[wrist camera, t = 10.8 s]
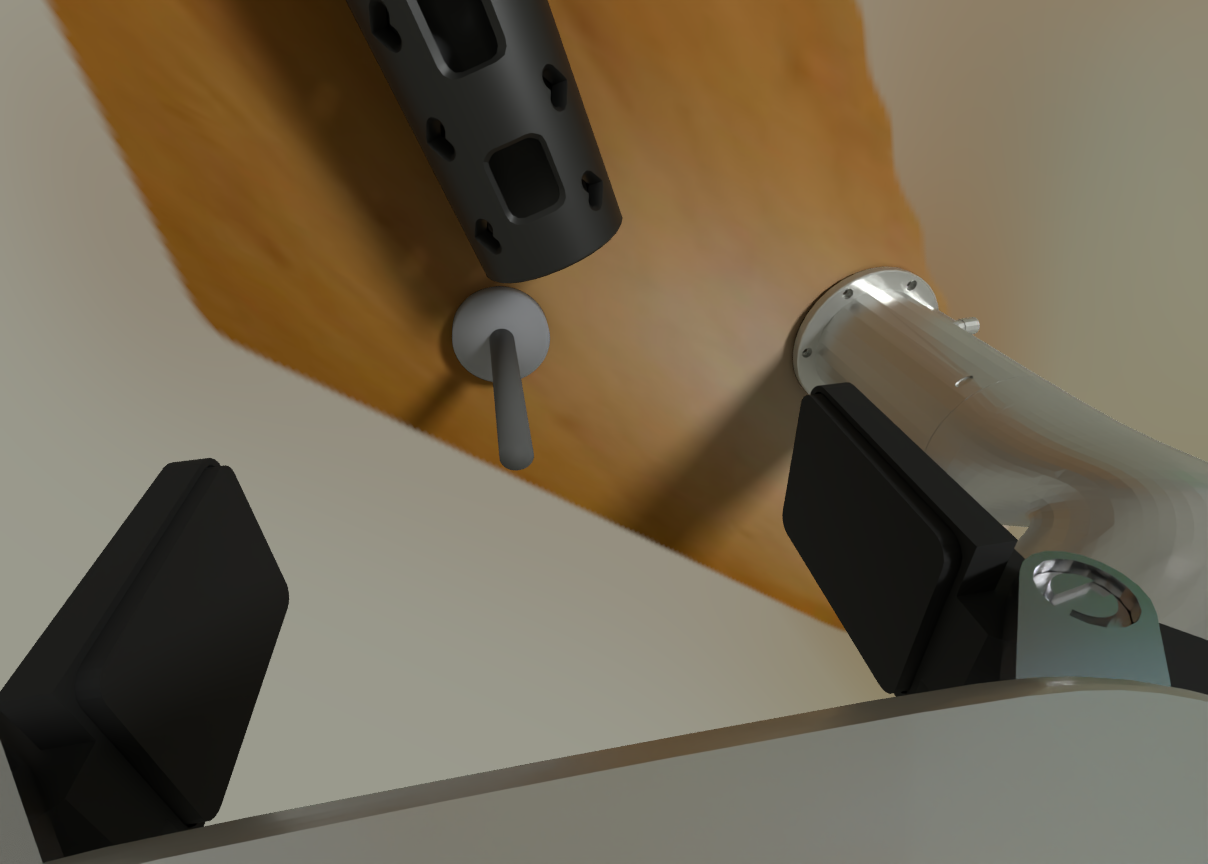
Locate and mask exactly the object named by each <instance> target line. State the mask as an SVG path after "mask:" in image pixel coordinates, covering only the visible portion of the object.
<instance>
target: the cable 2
mask: <svg viewBox="0 0 1208 864" xmlns="http://www.w3.org/2000/svg"><path fill="white" fill-rule="evenodd" d="M452 342H453V348H454V351H455V354H456V356H457V358H458V360H459V361H460V363H461V364H462V365H463V366H464V367H465V368H466V369H467V370H468V371H469V372H470V373H472V374H473V375H475V376H477V377H479V378H481V379H484V380H487V381H491V382H493V388H494V399H495V411H496V422H497V433H498V445H499V456H500V462H501V463H502V465H503V466H504V467H506V468H508V469H510V470H521V469H524V468H526V467H528V466H529V465H530V464H531V463H532V461H533V458H534V453H533V447H532V441H531V435H530V429H529V423H528V418H527V412H526V406H525V400H524V394H523V388H522V382H521V378H523V377H526V376H527V375H529V374H531V373H532V372H533V371H534V370H536V369H537V368H538V367H539V366H540V364H541V363H542V362H543V360H544V358H545V357H546V354H547V352H548V348H549V343H550V333H549V328H548V324H547V321H546V318H545V315H544V313H543V311H542V309H541V307H540V306H539V305H538V303H537V302H536V301H535V300H534V299H533V298H532V297H530V296H529V295H527V294H526V293H524V292H522V291H520V290H518V289H514V288H511V287H504V286H496V287H489V288H485V289H482V290H479V291H477V292H475V293H474V294H472V295H470V296H469V297H468V298H467V299H466V300H465V301H464V302H463V303H462V304H461V305H460V307H459V308H458V310H457V312H456V314H455V317H454V320H453V328H452Z"/></svg>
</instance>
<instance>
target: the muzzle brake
mask: <svg viewBox="0 0 1208 864" xmlns="http://www.w3.org/2000/svg"><path fill="white" fill-rule="evenodd" d="M346 1H347V3H348V5H349V7H350V9H351V11H352V13H353V15H354V17H355V19H356V21H357V23H358V25H359V27H360V29H361V31H362V33H363V35H364V37H365V39H366V40H367V42H368V44H369V46H370V48H371V50H372V52H373V54H374V56H375V58H376V60H377V62H378V64H379V66H380V68H381V70H382V72H383V74H384V76H385V78H386V80H387V82H388V83H389V85H390V87H391V89H392V91H393V93H394V95H395V97H396V99H397V101H398V103H399V105H400V107H401V109H402V111H403V113H404V115H405V117H406V119H407V121H408V123H409V124H410V126H411V128H412V130H413V132H414V134H415V136H416V138H417V140H418V142H419V144H420V146H421V148H422V150H423V152H424V154H425V156H426V158H427V160H428V162H429V164H430V165H431V167H432V169H433V171H434V173H435V175H436V177H437V179H438V181H439V183H440V185H441V187H442V189H443V191H444V193H445V195H446V197H447V199H448V201H449V203H450V205H451V206H452V208H453V210H454V212H455V214H456V216H457V218H458V220H459V222H460V224H461V226H462V228H463V230H464V232H465V234H466V236H467V238H468V240H469V242H470V244H471V246H472V247H473V249H474V251H475V253H476V255H477V257H478V259H479V261H480V263H481V265H482V267H483V269H484V271H485V273H486V275H487V277H488V278H490V279H491V280H493V281H496V282H500V283H518V282H524V281H529V280H533V279H537V278H540V277H543V276H547V275H550V274H552V273H555V272H557V271H560V270H562V269H564V268H567V267H569V266H571V265H573V264H575V263H577V262H579V261H581V260H582V259H584V258H586V257H587V256H589V255H591V254H592V253H594V252H595V251H597V250H598V249H600V248H601V247H602V246H603V245H605V244H606V243H607V242H608V241H609V240H610V239H611V238H612V237H613V236H614V235H615V234H616V232H617V231H618V229H619V227H620V225H621V223H622V215H621V212H620V209H619V206H618V204H617V201H616V198H615V195H614V192H613V189H612V186H611V183H610V180H609V177H608V175H607V172H606V169H605V166H604V163H603V160H602V157H601V154H600V151H599V148H598V145H597V143H596V140H595V137H594V134H593V131H592V128H591V125H590V122H589V119H588V116H587V114H586V111H585V108H584V105H583V102H582V99H581V96H580V93H579V90H578V87H577V84H576V82H575V79H574V76H573V73H572V70H571V67H570V64H569V61H568V58H567V55H566V52H565V50H564V47H563V44H562V41H561V38H560V35H559V32H558V29H557V26H556V23H555V21H554V18H553V15H552V12H551V9H550V6H549V3H548V0H346Z"/></svg>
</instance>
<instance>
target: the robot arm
mask: <svg viewBox="0 0 1208 864" xmlns="http://www.w3.org/2000/svg"><path fill="white" fill-rule="evenodd" d="M979 326H980V325H979V321H978V320H977V319H976V318H974V317H971V318H964V319H959V320H956V321H955V320H954V319H952V318H950V317H949V316H947V315H945V314H944V313H942V312H940V311H939V310H938V304H937V300H936V297H935V294H934V292H933V291H932V289H931V288H930V286H929V285H928V284H927V283H926V282H925V281H924V280H923V279H921V278H920V277H918V276H917V275H915V274H913V273H911V272H910V271H907V270H904V269H901V268H897V267H877V268H870V269H867V270H864V271H861V272H858V273H855V274H853V275H851V276H849V277H847V278H846V279H844V280H842V281H840V282H839V283H838V284H836V285H835V286H833V287H832V288H831V289H829V290H828V291H827V292H826V293H825V294H824V295H823V296H822V297H821V298H820V299H819V300H818V301H817V302H816V303H815V305H814V306H813V307H812V308H811V310H810V311H809V312H808V314H807V315H806V317H805V319H804V321H803V322H802V324H801V326H800V328H799V331H798V334H797V336H796V339H795V344H794V349H793V366H794V371H795V375H796V377H797V379H798V381H799V383H800V385H801V386H802V387H803V388H804V389H805V390H806V392H807V393H808V394H809V395H806V396H805V397H804V398H803V399H802V402H801V407H800V413H799V419H798V425H797V431H796V437H795V442H794V448H793V454H792V460H791V466H790V472H789V478H788V484H787V490H786V496H785V501H784V507H783V515H782V516H783V524H784V528H785V530H786V532H787V534H788V536H789V538H790V539H791V541H792V543H793V544H794V546H795V548H796V549H797V551H798V552H799V554H800V556H801V557H802V559H803V561H804V562H805V564H806V566H807V567H808V569H809V570H810V572H811V574H812V575H813V577H814V579H815V580H816V582H817V584H818V585H819V587H820V588H821V590H822V592H823V593H824V595H825V597H826V598H827V600H828V602H829V603H830V605H831V606H832V608H833V610H834V611H835V613H836V615H837V616H838V618H839V620H840V621H841V623H842V625H843V626H844V628H845V629H846V631H847V633H848V634H849V636H850V638H851V639H852V641H853V642H854V644H855V646H856V647H857V649H858V651H859V652H860V654H861V655H862V657H863V659H864V660H865V662H866V664H867V665H868V667H869V669H870V670H871V672H872V673H873V675H874V677H875V679H876V680H877V682H878V683H879V685H880V686H881V688H882V689H883V690H884V691H885V692H887V693H889V694H891V693H894V694H895V696H896V697H892V698H886V699H880V700H874V701H867V702H862V703H856V704H851V705H845V706H840V707H835V708H829V709H823V710H818V711H812V712H807V713H801V714H796V715H791V716H785V717H779V718H774V719H769V720H763V721H757V722H752V723H746V724H741V725H736V726H730V727H724V728H719V729H714V730H708V731H703V732H697V733H691V734H686V735H680V736H675V737H670V738H664V739H659V740H654V741H648V742H643V743H637V744H633V745H627V746H621V747H616V748H611V749H605V750H600V751H595V752H589V753H584V754H579V755H573V756H568V757H563V758H558V759H552V760H547V761H541V762H536V763H530V764H525V765H520V766H515V767H509V768H505V769H499V770H493V771H489V772H483V773H477V774H472V775H467V776H461V777H456V778H451V779H446V780H440V781H435V782H430V783H425V784H420V785H415V786H409V787H404V788H399V789H394V790H388V791H383V792H378V793H373V794H368V795H363V796H357V797H353V798H347V799H342V800H337V801H331V802H326V803H321V804H316V805H310V806H306V807H300V808H295V809H290V810H285V811H280V812H274V813H269V814H264V815H259V816H253V817H248V818H243V819H239V820H234V821H229V822H224V823H219V824H214V825H210V826H205V827H204V824H205V821H210V820H212V819H213V818H214V817H215V816H216V814H217V813H218V811H219V809H220V807H221V804H222V801H223V798H224V795H225V792H226V790H227V787H228V784H229V781H230V778H231V775H232V772H233V769H234V766H235V763H236V760H237V757H238V754H239V751H240V748H241V745H242V742H243V739H244V736H245V733H246V730H247V727H248V724H249V721H250V718H251V715H252V712H253V709H254V706H255V703H256V700H257V697H258V694H259V692H260V688H261V686H262V682H263V679H264V677H265V674H266V671H267V668H268V665H269V662H270V659H271V656H272V653H273V650H274V647H275V644H276V641H277V638H278V635H279V632H280V629H281V626H282V623H283V620H284V617H285V614H286V611H287V608H288V604H289V592H288V587H287V584H286V582H285V580H284V577H283V575H282V573H281V571H280V569H279V567H278V565H277V563H276V560H275V558H274V556H273V554H272V552H271V550H270V548H269V546H268V543H267V541H266V539H265V537H264V535H263V533H262V531H261V529H260V526H259V524H258V522H257V520H256V518H255V516H254V514H253V512H252V509H251V507H250V505H249V503H248V501H247V499H246V497H245V495H244V492H243V490H242V488H241V486H240V484H239V482H238V480H237V478H236V475H235V474H234V472H233V470H232V469H231V468H230V467H229V466H220V464H219V463H218V462H217V461H216V460H215V459H212V458H206V459H198V460H189V461H181V462H173V463H169V464H167V465H166V466H165V467H164V468H163V470H162V471H161V472H160V473H159V475H158V476H157V478H156V479H155V480H154V482H153V483H152V484H151V486H150V487H149V489H148V490H147V491H146V493H145V494H144V495H143V497H142V498H141V499H140V501H139V502H138V504H137V505H136V506H135V508H134V509H133V511H132V512H131V513H130V515H129V516H128V517H127V519H126V520H125V521H124V523H123V524H122V525H121V527H120V528H119V530H118V531H117V532H116V534H115V535H114V536H113V538H112V539H111V541H110V542H109V543H108V545H107V546H106V548H105V549H104V550H103V552H102V553H101V554H100V556H99V557H98V558H97V560H96V561H95V562H94V564H93V565H92V567H91V568H90V569H89V571H88V572H87V573H86V575H85V576H84V578H83V579H82V580H81V582H80V583H79V584H78V586H77V587H76V589H75V590H74V591H73V593H72V594H71V595H70V597H69V598H68V599H67V601H66V602H65V604H64V605H63V607H62V608H61V609H60V610H59V612H58V613H57V615H56V616H55V617H54V619H53V620H52V621H51V623H50V624H49V625H48V627H47V628H46V630H45V631H44V632H43V634H42V635H41V636H40V638H39V639H38V641H37V642H36V643H35V645H34V646H33V647H32V649H31V650H30V651H29V653H28V654H27V656H26V657H25V658H24V660H23V661H22V662H21V664H20V665H19V667H18V668H17V669H16V671H15V672H14V673H13V675H12V676H11V677H10V679H9V680H8V682H7V683H6V684H5V686H4V687H3V689H2V690H1V691H0V864H1208V462H1206V461H1204V460H1201V459H1199V458H1197V457H1194V456H1192V455H1189V454H1187V453H1185V452H1182V451H1180V450H1178V449H1175V448H1173V447H1171V446H1168V445H1166V444H1164V443H1162V442H1159V441H1157V440H1155V439H1153V438H1151V437H1149V436H1147V435H1145V434H1143V433H1140V432H1138V431H1136V430H1134V429H1132V428H1130V427H1128V426H1126V425H1124V424H1122V423H1120V422H1118V421H1116V420H1114V419H1113V418H1111V417H1109V416H1107V415H1105V414H1104V413H1102V412H1100V411H1098V410H1097V409H1095V408H1093V407H1091V406H1089V405H1088V404H1086V403H1084V402H1082V401H1081V400H1079V399H1077V398H1076V397H1074V396H1072V395H1071V394H1069V393H1067V392H1066V391H1064V390H1062V389H1061V388H1059V387H1057V386H1056V385H1054V384H1052V383H1051V382H1049V381H1047V380H1045V379H1043V378H1042V377H1040V376H1038V375H1037V374H1035V373H1034V372H1032V371H1030V370H1029V369H1027V368H1025V367H1024V366H1022V365H1021V364H1019V363H1017V362H1015V361H1014V360H1012V359H1011V358H1009V357H1008V356H1006V355H1004V354H1003V353H1001V352H999V351H998V350H996V349H994V348H993V347H991V346H989V345H988V344H986V343H985V342H983V341H981V340H980V339H978V338H977V337H975V336H973V335H972V334H975V333H977V332H978V330H979ZM1002 525H1009V526H1021V527H1029V528H1028V529H1027V531H1026V532H1025V533H1024V535H1022V536H1021V537H1020V539H1019V540H1017V539H1016V538H1015V537H1014V536H1013V535H1012V534H1011V533H1010V532H1009V531H1008V530H1007V529H1006V528H1004V527H1003V526H1002Z"/></svg>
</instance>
